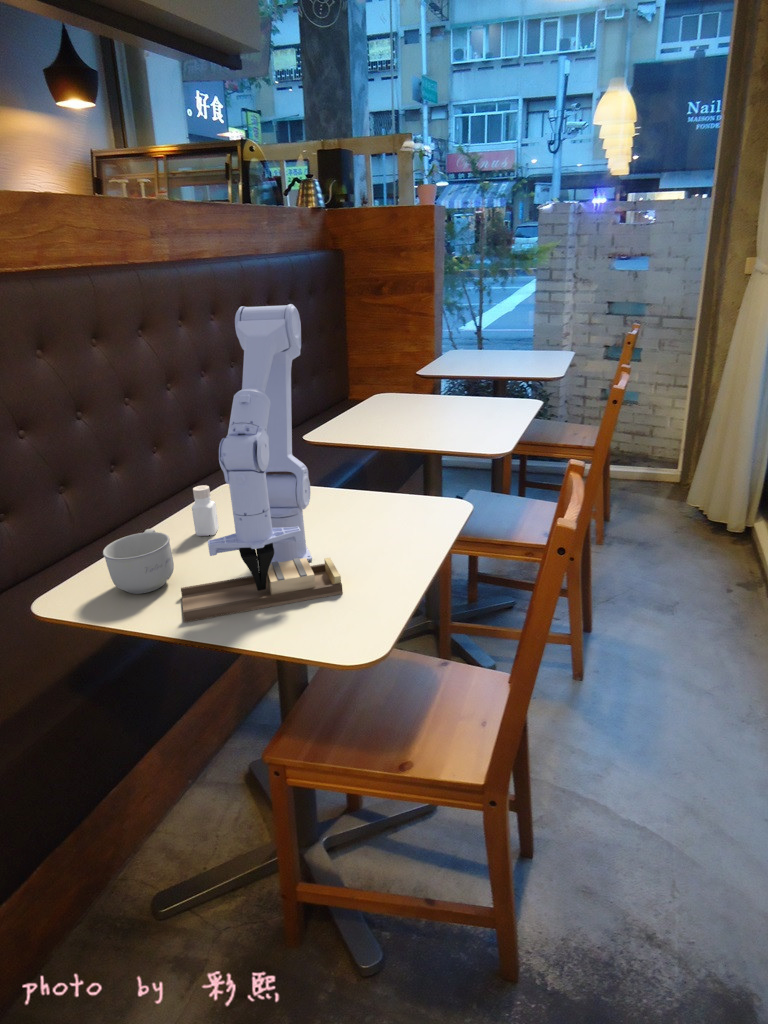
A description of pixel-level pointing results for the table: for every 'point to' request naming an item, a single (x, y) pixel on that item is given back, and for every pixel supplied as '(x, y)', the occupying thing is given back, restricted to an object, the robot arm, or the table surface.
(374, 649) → the table surface
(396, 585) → the table surface
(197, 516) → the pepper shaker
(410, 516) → the table surface
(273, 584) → the banded tan block
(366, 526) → the table surface
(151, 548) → the teacup
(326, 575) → the bay
